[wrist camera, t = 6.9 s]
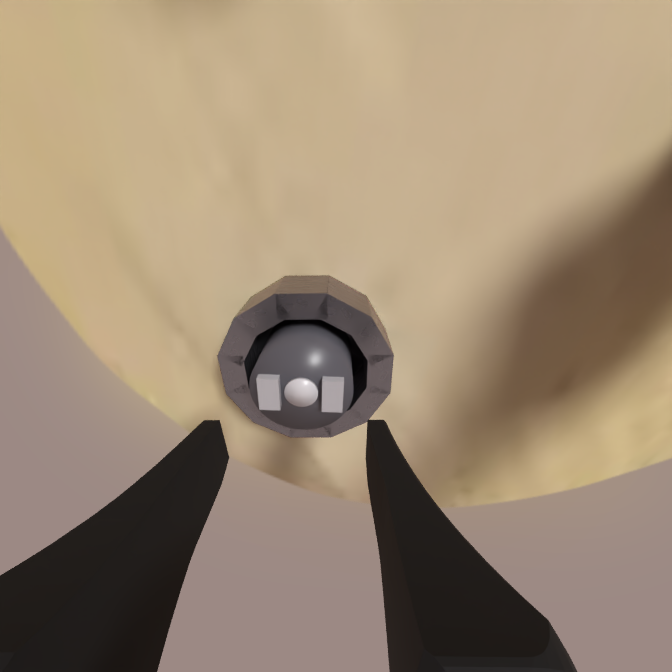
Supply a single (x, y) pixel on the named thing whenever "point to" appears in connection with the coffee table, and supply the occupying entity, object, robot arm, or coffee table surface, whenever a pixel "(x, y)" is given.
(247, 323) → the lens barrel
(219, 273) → the coffee table surface
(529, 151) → the coffee table surface
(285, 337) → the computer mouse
